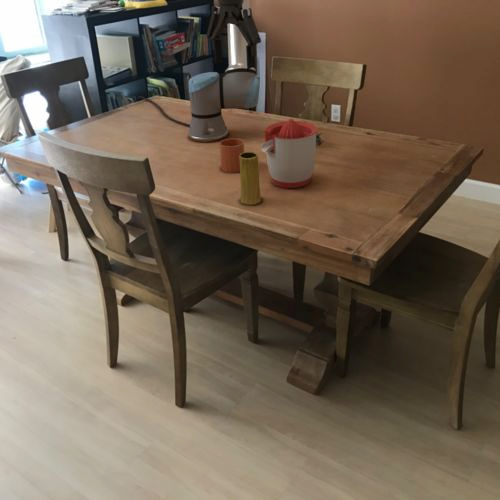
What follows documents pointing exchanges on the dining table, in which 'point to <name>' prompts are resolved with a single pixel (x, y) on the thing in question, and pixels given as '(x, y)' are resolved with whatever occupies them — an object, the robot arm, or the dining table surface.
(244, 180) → the vase
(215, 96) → the robot arm
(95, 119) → the dining table surface
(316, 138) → the rhino figurine
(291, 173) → the citrus juicer
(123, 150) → the dining table surface
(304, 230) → the dining table surface
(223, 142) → the terracotta cup
